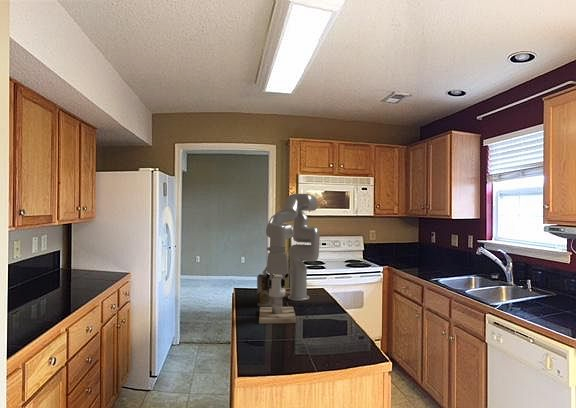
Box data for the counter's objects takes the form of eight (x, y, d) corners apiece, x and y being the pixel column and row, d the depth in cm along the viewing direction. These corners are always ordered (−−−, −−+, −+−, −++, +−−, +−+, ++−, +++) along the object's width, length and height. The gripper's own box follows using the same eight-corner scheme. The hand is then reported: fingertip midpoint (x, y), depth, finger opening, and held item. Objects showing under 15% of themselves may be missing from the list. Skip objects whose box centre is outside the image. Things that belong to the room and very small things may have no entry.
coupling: (267, 297, 165) (267, 278, 165) (270, 292, 176) (270, 274, 176) (289, 298, 164) (289, 279, 164) (291, 293, 175) (291, 275, 175)
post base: (260, 311, 179) (260, 291, 179) (293, 310, 180) (293, 291, 180) (259, 323, 159) (259, 301, 159) (296, 323, 160) (296, 301, 160)
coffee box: (275, 303, 194) (275, 274, 194) (273, 306, 188) (273, 276, 188) (258, 302, 195) (259, 273, 195) (256, 306, 188) (256, 276, 189)
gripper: (259, 250, 166) (259, 289, 166) (295, 250, 167) (295, 289, 166) (260, 249, 174) (260, 286, 173) (294, 249, 174) (294, 285, 174)
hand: (277, 287), depth 170 cm, fingers closed on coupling, 4 cm apart
